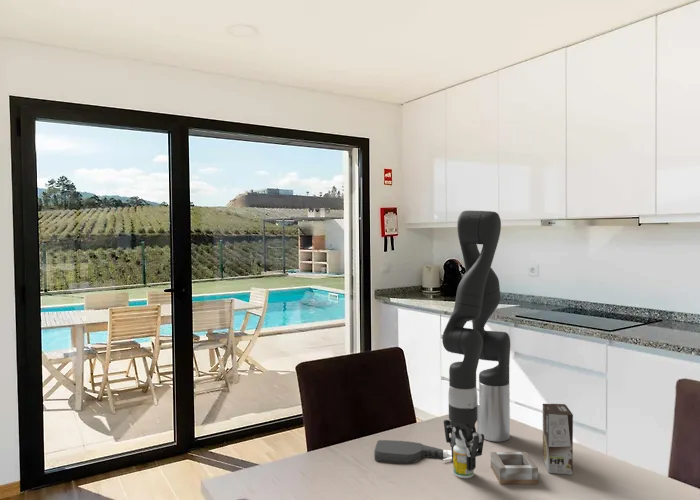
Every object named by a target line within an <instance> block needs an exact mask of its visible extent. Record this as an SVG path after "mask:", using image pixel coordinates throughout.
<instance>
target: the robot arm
mask: <svg viewBox="0 0 700 500" xmlns="http://www.w3.org/2000/svg"><path fill="white" fill-rule="evenodd" d="M501 221H502V219H501V217H500V215H499V213H498V212H496V211H491V210H490V211H489V210H464V211H461V212H460V214H459V215H458V218H457V225H456V226H457V236H458V241H459V244H460V245H459V246H460V250H461V254H462V258H463V262H464V269H465V270H464V271H465V274H464V276H462V277H461V280H460V282H459V283H458V285H457V289H456V296H455V301H454V306H453V307H454V308H453V310H452V312H451V314H450V318H449V320H448V322H447V324H446V326H445V328H444V330H443V333H442V337H441V339H442V346H443V347H444V350H446V351H447V352H448V353H452V354H458V355H463V360H462V361H455V362H453V363H451V364H450V366H449V370H448V373H449V375H448V376H449V377H448V379H449V381H448V383H449V385H448V386H449V388H448V419H444V420H443V427H444V434H445V441H446V443H449V446H450V447H451V450H452V460H451V461H453V447H454V446H455V445H456V437H457V438H458V439H460V440H462V443H463V447H464V448H465V449H466V452H467V470H469V471H471V470H475V469H476V465H477V462H476V461H477V459H476V458H477V457H479V456H480V457H481V456H482V455H483V450H484V449H483V448H484V443H485V440H486V441H489V442H494V443H495V442H496V443H497V442H506V441H508V440H509V439H510V438H511V436H510V435H511V431H510V430H511V426H510V424H511V421H510V420H511V419H510V418H511V415H510V413H511V412H510V411H511V410H510V409H511V408H510V395H511V394H510V393H511V392H510V359H511V358H510V357H511V338H510V334H509V333H508V332H505V331H497V330H494V331H493V330H486V329H485V327H486V324H487V322H488V321H489V319H490V317H491V316H492V315H493V313H494V312H496V309H497V308H498V306H499V305H500V302H501V289H500V288H501V287H500V281H499V280H500V279H499V278H498V275H497V274H496V272H495V271H494V270H493V268H492V263H493V261H494V257H495V254H496V251H497V247H498V243H499V240H500V235H501V230H502V222H501ZM478 245H482V247H481V251H479V248H478ZM470 321H472V328H468V327H465V325H466V323H467V322H470ZM480 360H483V361H488V362H489V361H491V362H498V364H497V365H496V366H494V367H492V368H487V369H483V370H481V371H480V372H479V374H478V389H477V370H478V365H479V362H480ZM478 391H479V392H478ZM478 394H479V395H478ZM478 399H479V400H478ZM476 424H477V426H476ZM476 427H477V428H476ZM469 441H471V443H469V444H467V442H469ZM470 447H471V448H472V451H470Z"/></svg>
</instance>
